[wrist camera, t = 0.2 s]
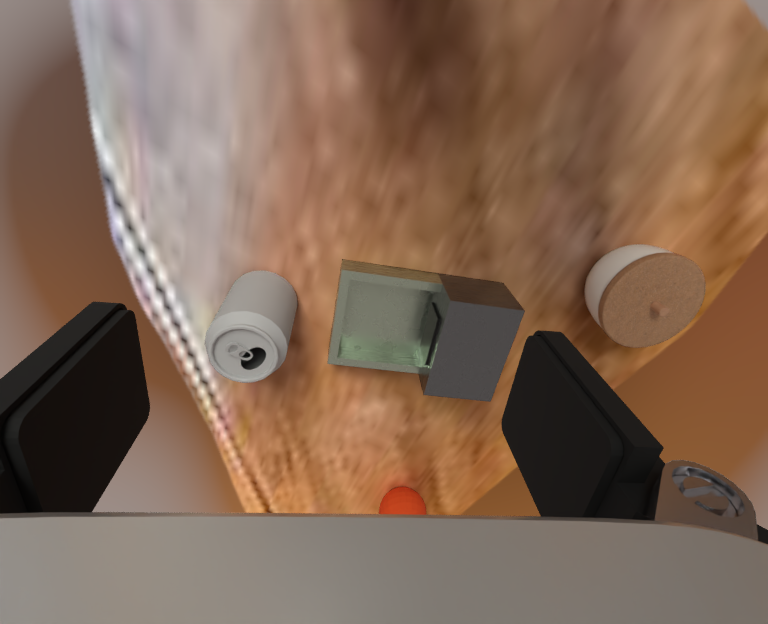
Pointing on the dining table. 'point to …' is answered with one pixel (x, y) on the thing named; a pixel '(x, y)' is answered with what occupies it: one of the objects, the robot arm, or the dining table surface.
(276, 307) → the can
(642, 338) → the lidded jar
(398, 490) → the tomato
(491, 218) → the dining table surface
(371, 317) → the frame
